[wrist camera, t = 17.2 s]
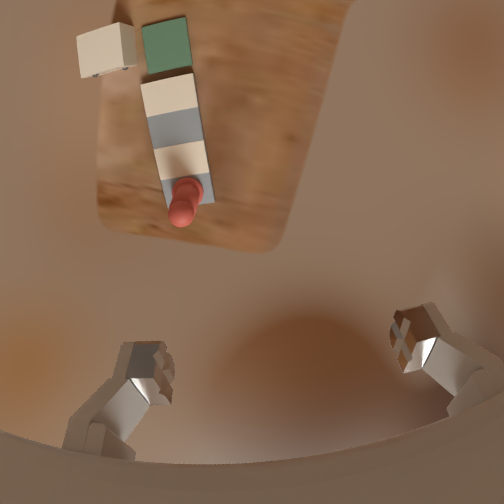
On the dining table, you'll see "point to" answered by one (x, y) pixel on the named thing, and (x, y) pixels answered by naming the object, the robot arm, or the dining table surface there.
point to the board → (177, 133)
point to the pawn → (185, 201)
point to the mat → (167, 45)
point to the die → (107, 50)
